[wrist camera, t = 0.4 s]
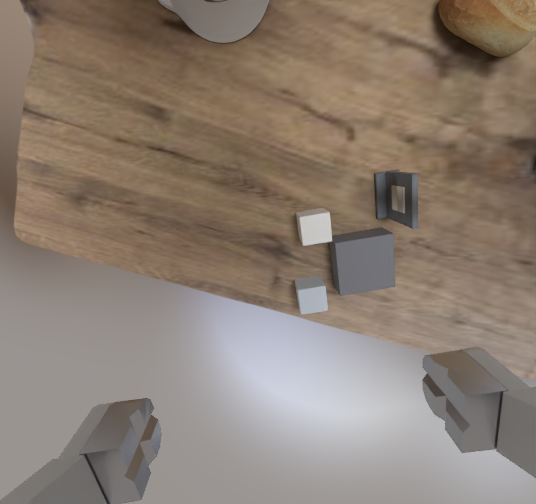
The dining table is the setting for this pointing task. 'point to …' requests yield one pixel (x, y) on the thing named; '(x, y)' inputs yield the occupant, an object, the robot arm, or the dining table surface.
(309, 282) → the grey blue cube
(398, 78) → the dining table surface
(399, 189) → the standing grey panel
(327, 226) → the ivory cube
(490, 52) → the bread roll
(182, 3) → the robot arm
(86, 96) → the dining table surface
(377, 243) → the base block
